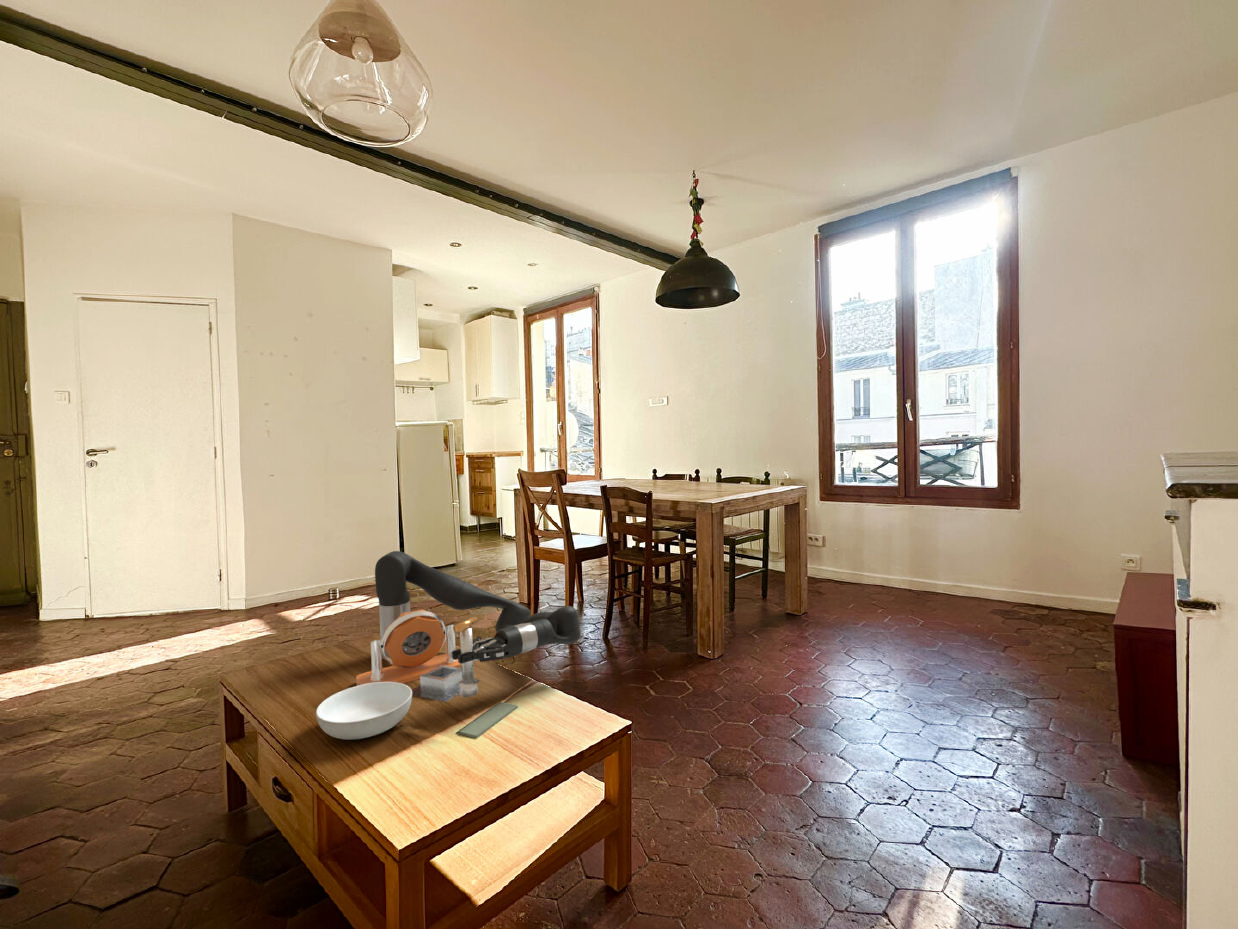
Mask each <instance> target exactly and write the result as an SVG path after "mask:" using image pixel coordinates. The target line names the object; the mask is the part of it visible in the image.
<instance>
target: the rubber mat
mask: <svg viewBox="0 0 1238 929" xmlns="http://www.w3.org/2000/svg"><path fill="white" fill-rule="evenodd" d="M518 708H519V707H518V705H517V704H512V703H508V702H503V701H499V702H497V703H496V704H494V705H493V706H492V707H490V708H489V709H488V710H486V711H484V712H483V713H481V714H480V715H479V716H477V717H476V718H475V719H473V720H471V721H470V722H469V723H467V724H466V725H464V726H463V727H461V728H460V729H459V730H458V731H456V732H455V734H458V735H461V736H467V737H470V738H474V739H478V738H479V737H480V736H482V735H483V734H485V733H486V732H487V731H489V730H490V729H491V728H493V727H494V726H495V725H497V724H498V723H499V722H501V721H502V720H503V719H504V718H506V717H507V716H509V715H510V714H511V713H512V712H514V711H516V710H517V709H518Z"/></svg>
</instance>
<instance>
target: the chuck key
mask: <svg viewBox="0 0 1238 929" xmlns="http://www.w3.org/2000/svg"><path fill="white" fill-rule="evenodd" d="M478 622H479V619H478V617H476V616H472V617H470V618H467V619H465V620H463V621H461V622H459V623H457V624H453V625H454V626H453V631H454V632H455V634H459V646H460V648H461V654H462V653H466V652H469V651H473V639H474V638H473V626H475V625H477V624H478ZM460 648H459V649H460ZM474 662H475V661H474V660H472V661H469V662H465V663H462V664H461V670H462V680H461V681H460V682H459V690H460V694H459V696H460V697H462V698H470V697H473V696H476V695H477V694H478V693H479V688H478V683H477V680H478V679H477V678H475V665H474Z"/></svg>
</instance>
